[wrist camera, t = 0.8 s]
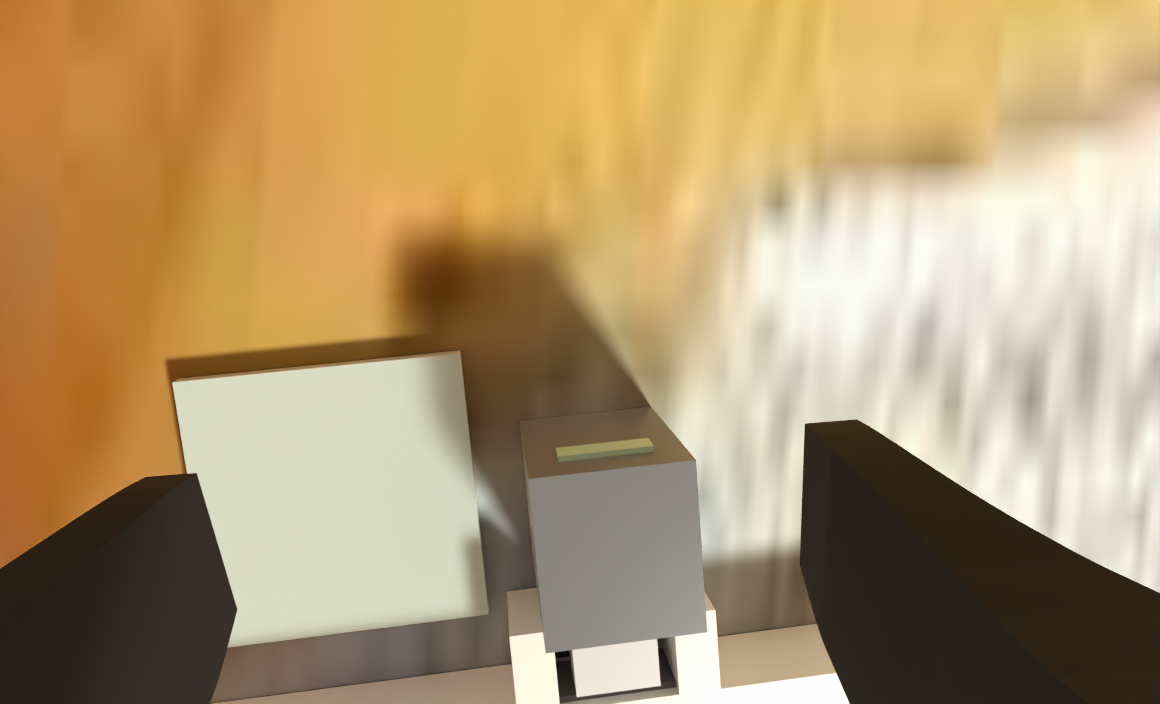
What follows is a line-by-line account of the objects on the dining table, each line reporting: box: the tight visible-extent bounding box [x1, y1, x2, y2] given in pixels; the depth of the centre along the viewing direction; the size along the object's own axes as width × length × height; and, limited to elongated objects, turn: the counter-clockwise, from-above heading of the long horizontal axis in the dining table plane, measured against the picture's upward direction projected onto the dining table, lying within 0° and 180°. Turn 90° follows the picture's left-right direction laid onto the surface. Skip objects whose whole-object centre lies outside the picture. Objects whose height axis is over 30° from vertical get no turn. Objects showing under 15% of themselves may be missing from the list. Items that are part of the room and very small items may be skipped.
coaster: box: [172, 350, 489, 648], centre depth 26 cm, size 8×8×1 cm
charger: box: [519, 406, 707, 697], centre depth 25 cm, size 8×4×6 cm, turn 5°
